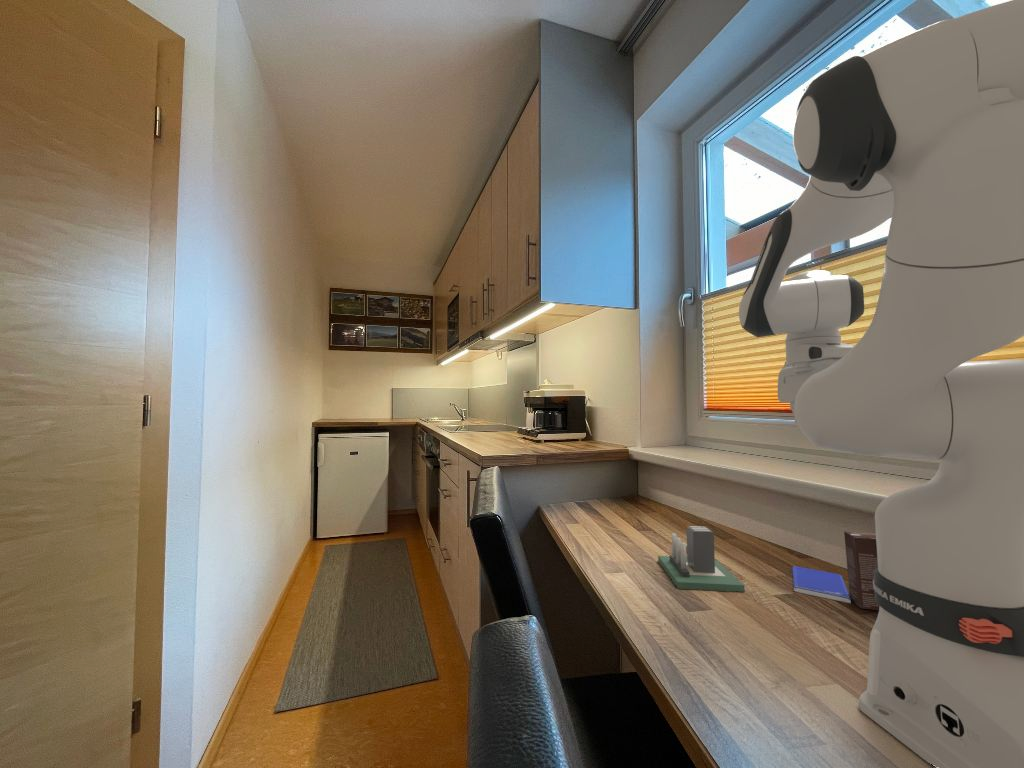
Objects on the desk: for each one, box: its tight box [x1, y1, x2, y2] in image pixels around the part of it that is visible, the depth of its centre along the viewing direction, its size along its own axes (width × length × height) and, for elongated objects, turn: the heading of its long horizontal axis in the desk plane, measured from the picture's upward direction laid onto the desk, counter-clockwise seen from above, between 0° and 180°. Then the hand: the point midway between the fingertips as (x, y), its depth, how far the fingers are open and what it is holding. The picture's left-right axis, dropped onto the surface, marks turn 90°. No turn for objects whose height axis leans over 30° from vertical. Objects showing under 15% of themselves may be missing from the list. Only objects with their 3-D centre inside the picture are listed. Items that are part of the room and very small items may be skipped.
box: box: [843, 530, 880, 611], centre depth 68 cm, size 6×4×12 cm
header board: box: [657, 533, 746, 593], centre depth 81 cm, size 14×12×7 cm
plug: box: [686, 525, 716, 573], centre depth 81 cm, size 4×4×8 cm
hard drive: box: [791, 565, 852, 604], centre depth 76 cm, size 2×8×12 cm
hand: (816, 424), depth 77 cm, fingers open, 8 cm apart
